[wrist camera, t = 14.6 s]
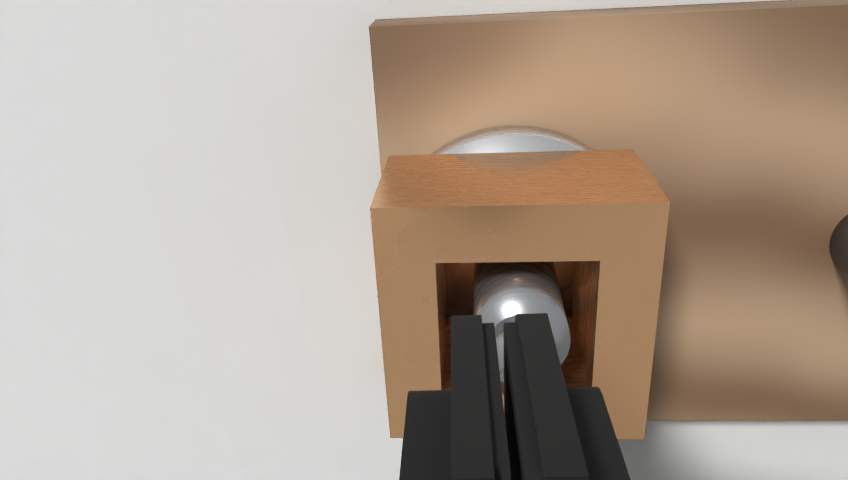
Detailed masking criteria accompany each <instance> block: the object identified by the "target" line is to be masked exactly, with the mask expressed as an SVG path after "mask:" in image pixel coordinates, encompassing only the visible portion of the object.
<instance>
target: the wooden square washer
mask: <svg viewBox="0 0 848 480" xmlns="http://www.w3.org/2000/svg"><path fill="white" fill-rule="evenodd" d="M669 206H670V201H669V200H668V199H667V197H666V196H665V194H664V193H663V191H662V190H661V188H660V187H659V185H658V184H657V182H656V181H655V179H654V178H653V176H652V175H651V173H650V172H649V170H648V169H647V167H646V166H645V165H644V163H643V162H642V160H641V159H640V157H639V156H638V154H637V153H636V151H635V150H634V149H620V150H581V151H543V152H505V153H467V154H428V155H390V156H388V159H387V162H386V165H385V168H384V170H383V173H382V176H381V179H380V182H379V185H378V187H377V190H376V193H375V196H374V199H373V202H372V205H371V207H370V211H371V222H372V234H373V245H374V257H375V268H376V280H377V291H378V302H379V314H380V325H381V337H382V348H383V360H384V371H385V383H386V394H387V405H388V417H389V428H390V438H403V436H404V426H405V415H406V404H407V395H408V391H424V390H451V317H447V312H446V287H445V263H483V262H555V261H575V272H574V293H573V313H572V316H566V318H567V323H568V327H569V332H570V339H571V342H570V348H569V352H568V354H567V356H566V358H565V360H564V361H563V363H562V364H561V368H562V372H563V376H564V380H565V384H566V387H599V388H600V390H601V392H602V395H603V398H604V401H605V404H606V407H607V410H608V413H609V416H610V419H611V422H612V425H613V428H614V431H615V435H616V438H617V439H644V437H645V428H646V419H647V409H648V400H649V391H650V382H651V372H652V363H653V354H654V345H655V336H656V326H657V317H658V308H659V299H660V289H661V280H662V271H663V262H664V252H665V243H666V234H667V225H668V215H669ZM500 381H501V380H500ZM501 390H502V399H503V408H504V382H502V381H501Z"/></svg>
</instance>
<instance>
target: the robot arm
mask: <svg viewBox="0 0 848 480" xmlns="http://www.w3.org/2000/svg"><path fill="white" fill-rule="evenodd" d="M503 341H504V408H503V399H502V390H501V381H500V371H499V362H498V353H497V344H496V335H495V326H494V323H482V316H481V315H460V316H451V390H424V391H408V395H407V404H406V415H405V426H404V436H403V447H402V457H401V468H400V479H399V480H630V477H629V474H628V471H627V468H626V465H625V462H624V459H623V456H622V453H621V450H620V447H619V444H618V441H617V438H616V435H615V431H614V428H613V425H612V422H611V419H610V416H609V413H608V410H607V407H606V404H605V401H604V398H603V395H602V392H601V390H600V388H599V387H566V384H565V380H564V376H563V372H562V368H561V364H560V361H559V357H558V353H557V349H556V345H555V341H554V337H553V333H552V329H551V325H550V321H549V317H548V314H547V313H531V314H516V315H515V322H504V326H503Z"/></svg>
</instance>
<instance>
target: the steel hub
mask: <svg viewBox="0 0 848 480" xmlns="http://www.w3.org/2000/svg"><path fill="white" fill-rule="evenodd" d="M581 150H593V149H592V148H590V147H588V146H587V145H585V144H584V143H582V142H580V141H579V140H577V139H574V138H572V137H570V136H568V135H565V134H563V133H560V132H556V131H553V130H550V129H546V128H540V127H533V126H519V125H509V126H499V127H491V128H487V129H482V130H478V131H475V132H472V133H469V134H466V135H464V136H461V137H459V138H457V139H455V140H453V141H451V142H449V143H447V144H445V145H444V146H442V147H441V148H439V149H438V150H436V151H435V152H434V153H432V154H467V153H505V152H543V151H581ZM574 272H575V261H555V262H483V263H445V287H446V312H447V317H451V316H460V315H481V316H482V323H494V326H495V335H496V344H497V353H498V362H499V371H500V380H501V381H502V382H504V341H503V326H504V322H515V315H516V314H531V313H547V314H548V317H549V321H550V325H551V329H552V333H553V337H554V341H555V345H556V349H557V353H558V357H559V361H560V364H562V363H563V361H564V360H565V358H566V356H567V354H568V352H569V348H570V342H571V339H570V332H569V327H568V323H567V318H566V316H572V313H573V293H574Z"/></svg>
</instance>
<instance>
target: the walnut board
mask: <svg viewBox="0 0 848 480" xmlns="http://www.w3.org/2000/svg"><path fill="white" fill-rule="evenodd" d="M369 32H370V44H371V56H372V68H373V80H374V92H375V104H376V116H377V128H378V140H379V152H380V164H381V175H382V173H383V170H384V168H385V165H386V162H387V159H388V156H390V155H428V154H432V153H434V152H435V151H436V150H438V149H439V148H441V147H442V146H444V145H445V144H447V143H449V142H451V141H453V140H455V139H457V138H459V137H461V136H464V135H466V134H469V133H472V132H475V131H478V130H482V129H487V128H491V127H499V126H509V125H519V126H533V127H540V128H546V129H550V130H553V131H556V132H560V133H563V134H565V135H568V136H570V137H572V138H574V139H577V140H579V141H580V142H582V143H584V144H585V145H587V146H588V147H590V148H592V149H593V150H620V149H634V150H635V151H636V153H637V154H638V156H639V157H640V159H641V160H642V162H643V163H644V165H645V166H646V167H647V169H648V170H649V172H650V173H651V175H652V176H653V178H654V179H655V181H656V182H657V184H658V185H659V187H660V188H661V190H662V191H663V193H664V194H665V196H666V197H667V199H668V200H669V201H670V206H669V215H668V225H667V234H666V243H665V252H664V262H663V271H662V280H661V289H660V299H659V308H658V317H657V326H656V336H655V345H654V354H653V363H652V372H651V382H650V391H649V400H648V409H647V419H646V420H848V0H783V1H761V2H740V3H719V4H697V5H676V6H655V7H634V8H612V9H591V10H570V11H548V12H527V13H506V14H484V15H463V16H442V17H421V18H399V19H378V20H375V21H374V22H373V23H372V24H371V25H370V26H369Z"/></svg>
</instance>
